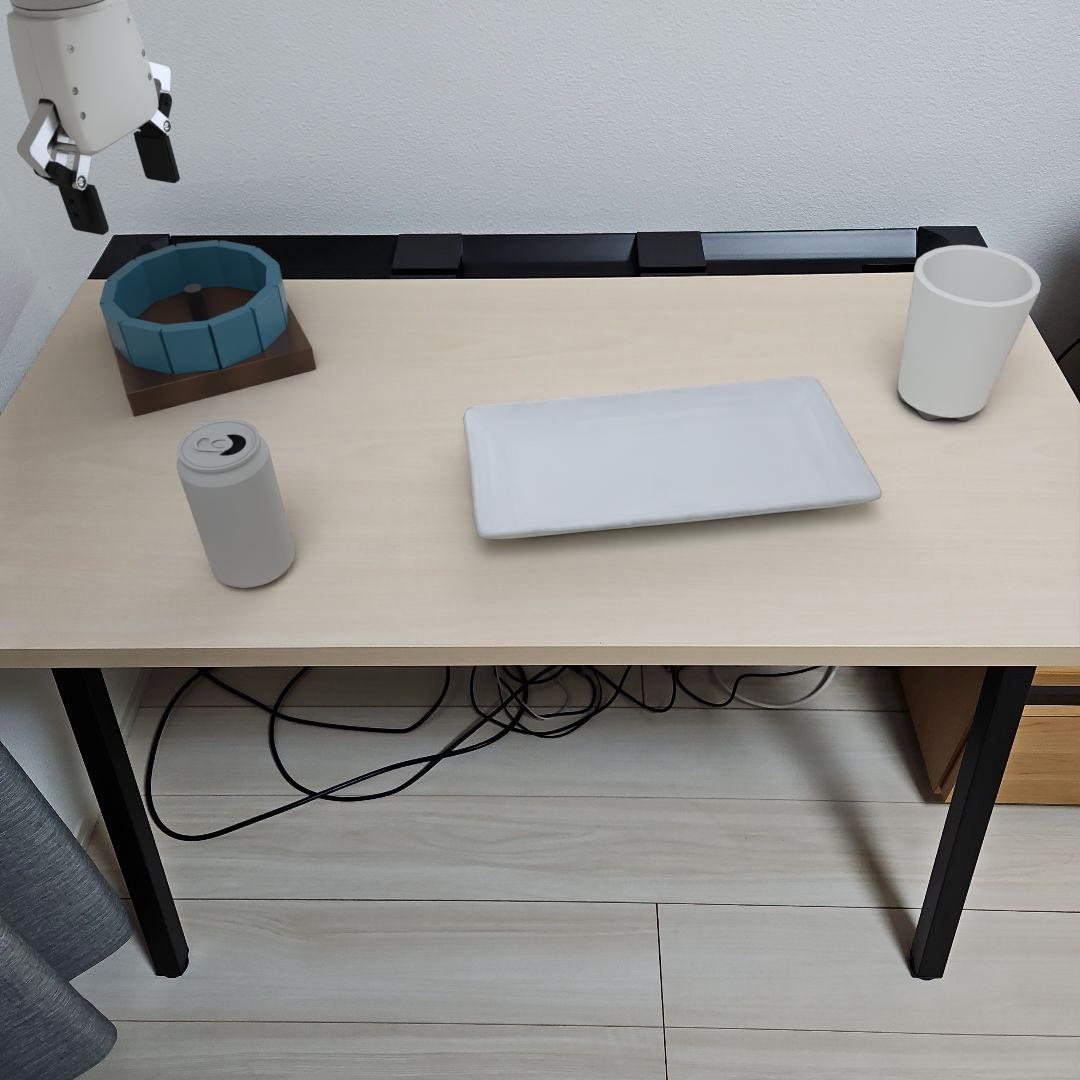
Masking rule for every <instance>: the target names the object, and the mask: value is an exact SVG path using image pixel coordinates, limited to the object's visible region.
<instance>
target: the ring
mask: <svg viewBox="0 0 1080 1080" xmlns="http://www.w3.org/2000/svg"><path fill="white" fill-rule="evenodd" d="M190 284H199V285H200V286H201V287H202V288H212V287H222V286H228V287H234V288H239V289H244V290H249V291H254V292H258V293H257V294H256V295H255V296H254V297H253V298H252V299H251V300H250V301H249V302H248V303H247V304H246V305H245V306H242V307H240V308H237V309H235V310H232V311H230V312H227V313H224V314H222V315H219V316H217V317H214V318H212V319H209V320H206V321H196V322H187V323H177V324H167V325H163V324H158V323H153V322H149V321H144V320H139V319H135V318H136V317H138V316H139V315H140V314H141V313H142V312H144V311H145V310H146V309H147V308H148V307H150V306H151V305H152V304H153V303H154V302H157V301H160V300H163V299H165V298H168V297H171V296H173V295H176V294H179V293H181V292H184V288H185V287H186V286H187V285H190ZM100 295H101V296H100V299H99V307H100V309H101V312H102V315H103V318H104V321H106V322H105V325H106V324H107V325H106V328H107V327H108V329H107V331H108V330H109V332H110V335H111V338H112V341H113V344H114V346H115V348H116V349H117V350H118V351H119V352H120V353H121V354H122V355H123V356H124V357H125V358H126V359H127V360H128V361H129V362H130V363H131V364H132V365H133V364H134V366H137V367H141V368H146V369H150V370H155V371H159V372H164V373H168V374H172V373H173V372H174V374H181V373H191V372H200V371H209V370H218V369H219V366H221V367H222V368H225V367H228V366H230V365H233V364H235V363H237V362H240V361H242V360H245V359H247V358H249V357H252V356H254V355H257V354H259V353H261V350H264V351H265V350H266V349H267V348H268V347H269V346H270V345H271V344H272V343H273V342H274V341H275V340H276V338H277V337H278V336H279V335H280V334H281V333H282V332H283V331H284V330H285V329H286V327H287V317H288V304H289V303H288V304H287V302H288V299H287V296H286V289H285V286H284V282H283V276H282V271H281V267H280V264H279V262H277V260H275V259H274V258H272V257H271V256H270V255H269V254H267V253H266V252H265V251H264V250H263V249H261V248H260V247H256V246H255V245H249V244H243V243H239V242H233V241H229V240H228V241H227V240H220V241H219V240H218V239H214V240H213V239H212V240H204V241H193V242H192V241H191V242H183V243H176V245H174V244H171V245H169V246H165V247H162V248H160V249H156V250H154V251H151V252H147V253H145V254H142V255H140V256H137V257H136V256H135V258H134V259H130V261H128V262H127V263H126V264H124V265H123V266H122V267H120V268H119V269H118V270H116V271H115V272H114V273H113V274H111V275H110V276H109V277H108V278H106V281H104V285H103V288H102V292H101V294H100ZM109 332H108V333H109Z"/></svg>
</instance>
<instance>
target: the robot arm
mask: <svg viewBox="0 0 1080 1080" xmlns="http://www.w3.org/2000/svg"><path fill="white" fill-rule="evenodd" d="M9 2H10V6H11V9H12V11H11V12H9V13H7V14H6V23H7V34H8V39H9V46H10V51H11V52H10V53H11V57H12V61H13V65H14V71H15V74H16V79H17V82H18V86H19V90H20V94H21V97H22V100H23V103H24V104H23V105H24V107H25V110H26V114H27V117H28V120H29V123H28V124H27V127H26V128H25V130H24V132H23V134H22V135H21V137H20V139H19V141H18V142H17V145H16V152H17V154H18V155H19V156H20V157H21V158H22V159H23V160H24V161H25V162H26V163H27V164H28V165H29V167H30V168H31V169H32V170H33V172H34V174H35V175H36V176H38V177H40V178H41V179H43V180H46V181H47V182H48V183H49V184H50V185H51V186H56V187H58V191H59V193H60V196H61V199H62V202H63V205H64V207H65V210H66V211H65V212H66V213H67V216H68V219H69V221H70V225H71V227H72V228H73V229H74V230H75V231H79V232H83V233H90V234H94V235H99V236H105V235H106V234H107V233H108V232H109V231H110V226H109V223H108V221H107V217H106V214H105V211H104V208H103V205H102V201H101V199H100V196H99V193H98V190H97V187H96V186H95V184H91V183H90V184H89V177H90V170H91V164H92V159H93V156H94V155H97V154H99V153H100V152H102V151H104V150H106V149H107V148H109V147H111V146H113V145H114V144H115V143H117V142H118V141H120V140H121V139H123V138H125V137H127V136H128V135H130V134H131V133H132V132H133V133H132V134H133V137H134V142H135V146H136V149H137V152H138V156H139V160H140V164H141V166H142V170H143V173H144V176H145V178H146V179H148V180H151V181H157V182H164V183H170V184H176V183H178V182H179V181H180V180H181V177H180V173H179V169H178V164H177V161H176V157H175V153H174V150H173V146H172V142H171V139H170V135H169V134H170V133H171V132H172V129H173V125H172V121H171V119H169V118H170V114H171V111H172V110H171V109H172V106H173V98H172V95H171V94H170V93H171V91H172V90H171V89H172V88H171V87H172V86H171V85H172V70H171V68H170V66H168V65H167V64H166V65H165V64H162V63H157V62H155V61H150V60H149V58H148V56H147V52H146V49H145V46H144V43H143V41H142V37H141V34H140V32H139V29H138V26H137V24H136V21H135V19H134V16H133V14H132V12H131V9H130V7H129V5H128V2H127V0H9ZM137 129H138V130H137ZM70 141H73V142H74V143H70ZM49 150H51V152H49ZM69 155H70V156H74V158H73V163H72V169H71V168H69V167H67V166H68V159H69Z"/></svg>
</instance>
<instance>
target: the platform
mask: <svg viewBox="0 0 1080 1080" xmlns="http://www.w3.org/2000/svg"><path fill="white" fill-rule="evenodd" d="M257 293H258V292H254V291H249V290H244V289H239V288H234V287H228V286H222V287H212V288H202V287H201V286H200V285H199V284H190V285H187V286H186V287H185V288H184V292H181V293H179V294H176V295H173V296H171V297H168V298H165V299H163V300H160V301H157V302H154V303H153V304H152V305H151V306H150V307H148V308H147V309H146V310H145V311H144V312H142V313H141V314H140V315H139V316H138V317H136V318H135V319H139V320H144V321H149V322H153V323H158V324H163V325H167V324H177V323H187V322H196V321H206V320H209V319H212V318H214V317H217V316H219V315H222V314H224V313H227V312H230V311H232V310H235V309H237V308H240V307H242V306H245V305H246V304H247V303H248V302H249V301H250V300H251V299H252V298H253V297H254V296H255V295H256V294H257ZM287 304H288V317H287V327H286V329H285V330H284V331H283V332H282V333H281V334H280V335H279V336H278V337H277V338H276V340H275V341H274V342H273V343H272V344H271V345H270V346H269V347H268V348H267V349H266V350H265V351H264V350H261V353H259V354H257V355H254V356H252V357H249V358H247V359H245V360H242V361H240V362H237V363H235V364H233V365H230V366H228V367H225V368H222V367H221V366H219V369H218V370H209V371H200V372H191V373H181V374H174V372H173V373H172V374H168V373H164V372H159V371H155V370H150V369H146V368H141V367H137V366H134V364H133V365H132V364H131V363H130V362H129V361H128V360H127V359H126V358H125V357H124V356H123V355H122V354H121V353H120V352H119V351H118V350H117V349H116V348H115V346H114V344H113V341H112V338H111V335H110V332H109V330H108V327H107V324H106V321H105V320H104V321H105V325H106V328H107V332H108V336H109V339H110V342H111V346H112V350H113V353H114V357H115V360H116V363H117V367H118V371H119V374H120V377H121V381H122V385H123V388H124V392H125V395H126V398H127V400H128V403H129V406H130V409H131V412H132V415H133V416H134V417H137V416H141V415H145V414H150V413H153V412H157V411H161V410H164V409H169V408H173V407H176V406H180V405H184V404H187V403H191V402H194V401H199V400H202V399H207V398H211V397H214V396H218V395H222V394H226V393H230V392H234V391H237V390H241V389H245V388H249V387H254V386H257V385H260V384H264V383H268V382H272V381H273V382H274V381H276V380H281V379H284V378H286V377H292V376H295V375H296V376H297V375H300V374H303V373H307V372H311V371H315V370H317V365H316V359H315V355H314V351H313V347H312V345H311V343H310V341H309V339H308V337H307V336H306V333H305V331H304V330H303V328H302V326H301V324H300V322H299V320H298V318H297V316H296V315H295V312H294V311H293V310H292V307H291V305H290V304H289V301H287Z"/></svg>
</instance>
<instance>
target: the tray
mask: <svg viewBox="0 0 1080 1080" xmlns="http://www.w3.org/2000/svg"><path fill="white" fill-rule="evenodd" d="M462 421H463V422H462V424H463V431H464V437H465V443H466V448H467V449H466V450H467V457H468V465H469V472H470V484H471V486H470V487H471V496H472V508H473V517H474V524H475V530H476V532H477V533H476V534H477V535H478V536H479V537H480V538H481V539H486V540H492V539H493V540H505V539H507V540H508V539H521V538H522V539H523V538H534V537H545V536H555V535H564V534H575V533H584V532H594V531H605V530H617V529H628V528H629V529H630V528H637V527H638V528H640V527H650V526H660V525H670V524H683V523H691V522H701V521H710V520H711V521H712V520H722V519H731V518H741V517H749V516H758V515H767V514H776V513H778V514H779V513H787V512H796V511H797V512H798V511H807V510H818V509H828V508H836V507H846V506H852V505H859V504H864V503H870V502H874V501H877V500H880V498H881V497H882V494H883V492H882V489H881V486H880V484H879V483H878V480H877V478H876V477H875V475H874V474H873V472H872V470H871V469H870V467H869V465H868V464H867V462H866V460H865V458H864V455H862V453H861V451H860V450H859V448H858V446H857V444H856V442H855V441H854V438H853V437H852V436H851V434H850V432H849V430H848V429H847V427H846V425H845V424H844V422H843V420H842V418H841V416H840V415H839V413H838V411H837V409H836V408H835V406H834V404H833V402H832V399H831V398H830V397H829V395H828V393H827V391H826V390H825V388H824V386H823V385H822V383H821V382H820V381H819V380H818V378H816V377H814V376H808V375H801V376H790V377H789V376H788V377H779V378H769V379H761V380H760V379H759V380H749V381H739V382H729V383H716V384H705V385H695V386H694V385H693V386H683V387H672V388H661V389H651V390H640V391H638V390H637V391H627V392H618V393H617V392H616V393H606V394H593V395H592V394H591V395H582V396H580V395H579V396H570V397H558V398H547V399H534V400H526V401H525V400H523V401H513V402H501V403H500V402H499V403H492V404H490V403H489V404H483V405H475V406H472V407H469V408H467V409H466V410H465V411H464V413H463V416H462Z"/></svg>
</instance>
